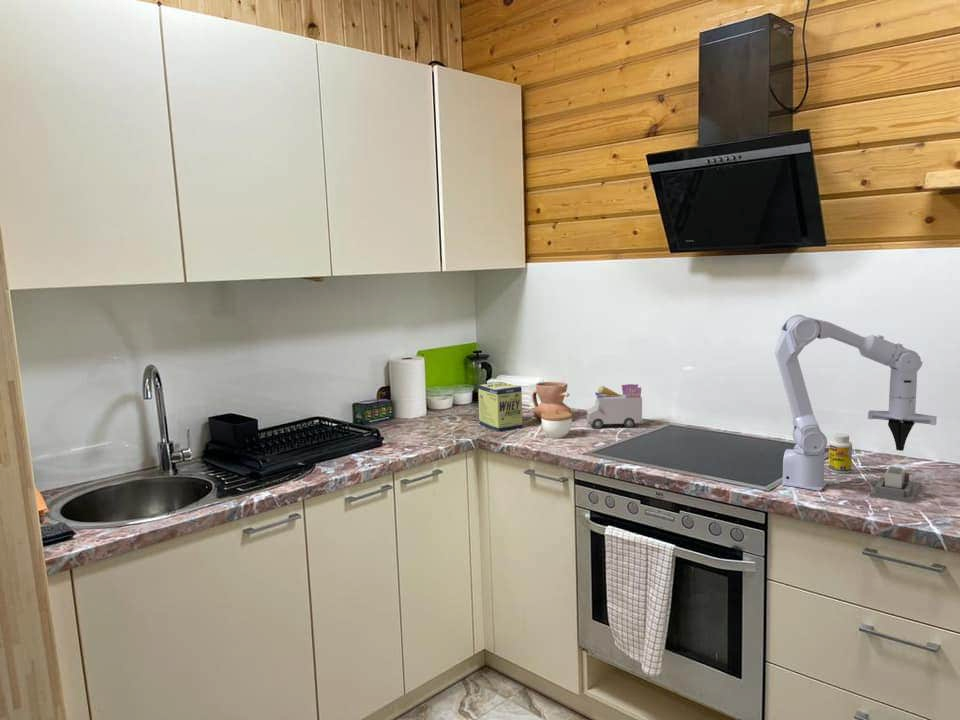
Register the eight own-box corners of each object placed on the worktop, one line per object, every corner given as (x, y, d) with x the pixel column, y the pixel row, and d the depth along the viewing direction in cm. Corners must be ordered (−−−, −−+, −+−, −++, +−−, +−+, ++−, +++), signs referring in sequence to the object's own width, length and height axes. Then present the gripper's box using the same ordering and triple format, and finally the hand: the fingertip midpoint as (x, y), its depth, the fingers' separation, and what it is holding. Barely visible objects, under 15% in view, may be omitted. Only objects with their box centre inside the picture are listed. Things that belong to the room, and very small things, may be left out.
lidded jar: (578, 437, 239) (577, 410, 238) (551, 441, 234) (551, 414, 233) (561, 431, 248) (561, 405, 247) (535, 435, 244) (535, 408, 243)
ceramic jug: (581, 419, 265) (580, 382, 264) (556, 425, 256) (555, 387, 254) (546, 414, 279) (545, 379, 277) (521, 420, 269) (520, 383, 268)
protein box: (498, 432, 250) (497, 389, 248) (478, 424, 264) (477, 384, 262) (523, 428, 255) (522, 386, 253) (502, 420, 268) (501, 381, 266)
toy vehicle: (585, 424, 258) (585, 384, 256) (638, 422, 257) (638, 382, 255) (588, 430, 249) (588, 388, 247) (643, 428, 248) (643, 387, 246)
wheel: (887, 480, 175) (887, 473, 175) (890, 476, 179) (890, 469, 178) (907, 483, 173) (907, 476, 172) (910, 479, 176) (910, 472, 176)
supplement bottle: (824, 471, 192) (825, 434, 190) (834, 467, 195) (835, 431, 194) (845, 475, 187) (846, 438, 186) (855, 471, 190) (856, 434, 189)
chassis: (869, 496, 170) (870, 486, 170) (880, 480, 182) (881, 471, 181) (912, 503, 165) (913, 493, 164) (921, 486, 176) (921, 476, 176)
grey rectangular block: (884, 492, 170) (885, 470, 169) (887, 487, 173) (888, 465, 173) (900, 494, 168) (902, 472, 167) (903, 489, 171) (904, 467, 170)
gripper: (866, 396, 174) (864, 449, 176) (935, 402, 165) (932, 457, 167) (871, 392, 180) (869, 443, 181) (938, 397, 171) (935, 450, 172)
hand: (900, 449), depth 175 cm, fingers closed
